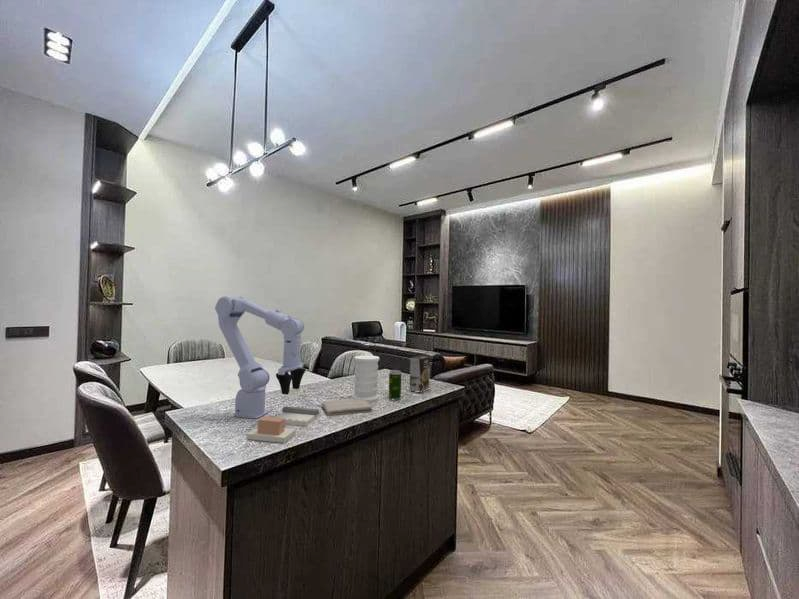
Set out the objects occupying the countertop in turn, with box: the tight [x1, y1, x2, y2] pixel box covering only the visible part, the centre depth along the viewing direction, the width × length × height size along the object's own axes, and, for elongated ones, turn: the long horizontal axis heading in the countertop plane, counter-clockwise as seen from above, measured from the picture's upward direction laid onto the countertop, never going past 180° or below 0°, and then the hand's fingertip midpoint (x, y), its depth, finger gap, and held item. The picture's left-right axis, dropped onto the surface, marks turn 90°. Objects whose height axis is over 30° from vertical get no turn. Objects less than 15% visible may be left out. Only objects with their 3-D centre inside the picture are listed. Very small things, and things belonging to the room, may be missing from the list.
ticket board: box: [274, 405, 322, 427], centre depth 120 cm, size 13×12×3 cm
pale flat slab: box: [246, 416, 297, 444], centre depth 103 cm, size 12×7×5 cm, turn 80°
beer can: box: [388, 369, 402, 401], centre depth 149 cm, size 5×5×12 cm
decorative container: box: [351, 354, 380, 403], centre depth 148 cm, size 12×12×18 cm
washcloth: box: [321, 397, 373, 417], centre depth 132 cm, size 12×18×3 cm, turn 114°
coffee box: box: [408, 355, 431, 392], centre depth 165 cm, size 9×6×16 cm
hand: (290, 391), depth 121 cm, fingers open, 7 cm apart
